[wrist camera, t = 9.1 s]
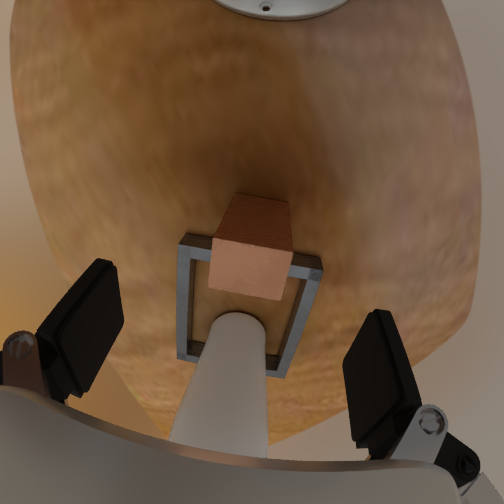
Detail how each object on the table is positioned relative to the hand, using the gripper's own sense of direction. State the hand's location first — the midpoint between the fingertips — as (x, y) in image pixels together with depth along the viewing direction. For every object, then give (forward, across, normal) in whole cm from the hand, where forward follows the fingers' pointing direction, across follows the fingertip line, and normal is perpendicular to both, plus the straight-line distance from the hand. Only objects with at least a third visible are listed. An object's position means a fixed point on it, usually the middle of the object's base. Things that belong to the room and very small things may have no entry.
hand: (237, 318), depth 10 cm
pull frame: (+13, 0, +9) cm, 15 cm away
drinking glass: (+13, 0, +13) cm, 18 cm away
